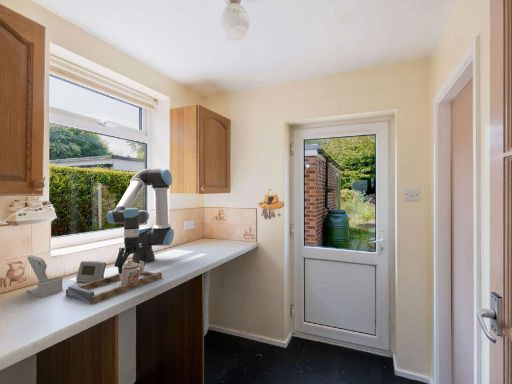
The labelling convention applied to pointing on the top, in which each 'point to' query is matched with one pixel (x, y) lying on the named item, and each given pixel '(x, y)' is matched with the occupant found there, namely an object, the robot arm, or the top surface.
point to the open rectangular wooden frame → (88, 296)
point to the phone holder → (43, 279)
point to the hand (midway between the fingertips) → (132, 275)
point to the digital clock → (90, 271)
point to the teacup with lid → (131, 272)
